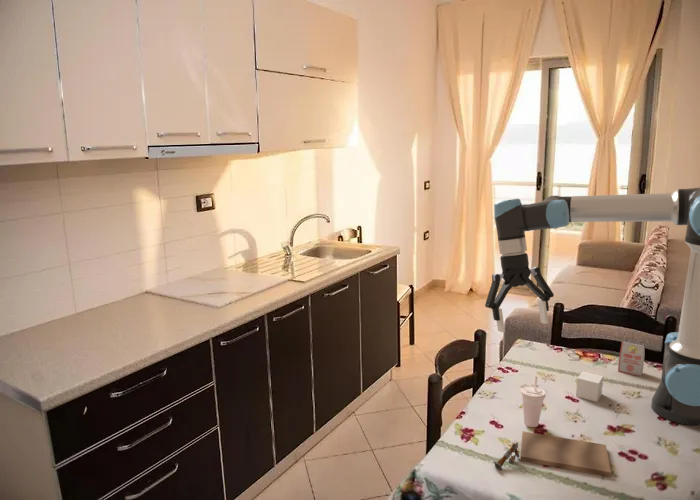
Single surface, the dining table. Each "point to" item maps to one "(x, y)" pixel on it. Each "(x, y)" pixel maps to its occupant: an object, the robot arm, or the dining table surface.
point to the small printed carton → (631, 359)
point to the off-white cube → (589, 386)
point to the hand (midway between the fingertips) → (523, 327)
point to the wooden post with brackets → (507, 455)
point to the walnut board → (565, 453)
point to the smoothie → (532, 404)
